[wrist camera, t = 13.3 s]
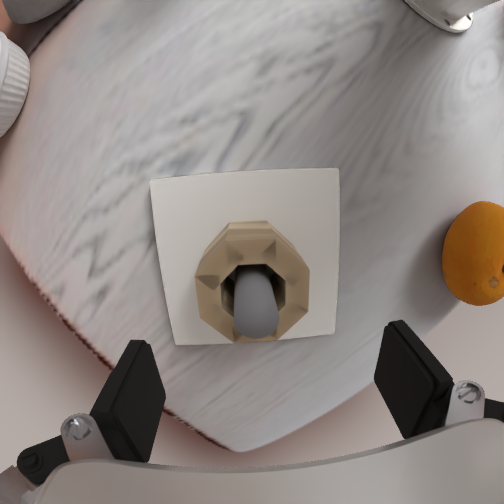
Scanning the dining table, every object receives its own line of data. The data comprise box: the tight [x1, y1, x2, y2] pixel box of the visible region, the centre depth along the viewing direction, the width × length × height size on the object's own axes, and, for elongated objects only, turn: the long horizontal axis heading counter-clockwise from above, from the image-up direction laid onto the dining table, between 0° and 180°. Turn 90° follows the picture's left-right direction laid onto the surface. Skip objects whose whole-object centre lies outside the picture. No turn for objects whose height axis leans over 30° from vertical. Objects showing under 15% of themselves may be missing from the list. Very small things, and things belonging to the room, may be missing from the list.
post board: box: [149, 168, 340, 345], centre depth 20 cm, size 15×15×10 cm
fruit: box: [442, 201, 504, 306], centre depth 22 cm, size 10×10×8 cm
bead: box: [195, 220, 310, 343], centre depth 21 cm, size 7×7×6 cm
